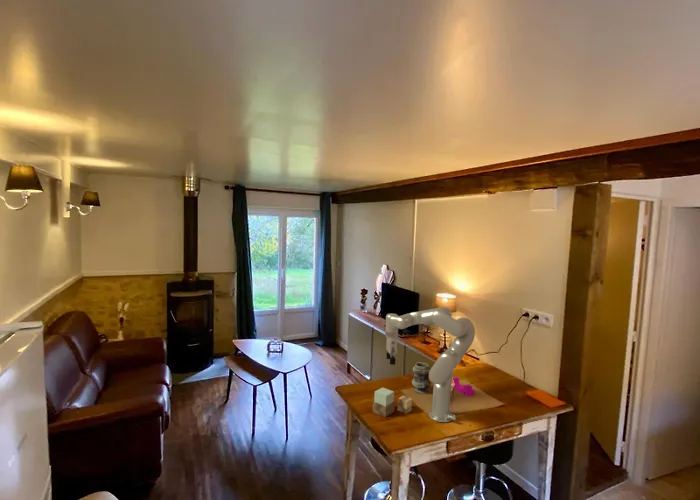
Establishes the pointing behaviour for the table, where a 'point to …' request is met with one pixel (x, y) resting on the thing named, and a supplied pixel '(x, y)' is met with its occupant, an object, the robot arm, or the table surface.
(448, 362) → the robot arm
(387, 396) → the sage top block
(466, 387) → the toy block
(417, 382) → the apothecary jar
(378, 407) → the walnut base block
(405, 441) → the table surface
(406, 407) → the oak block
